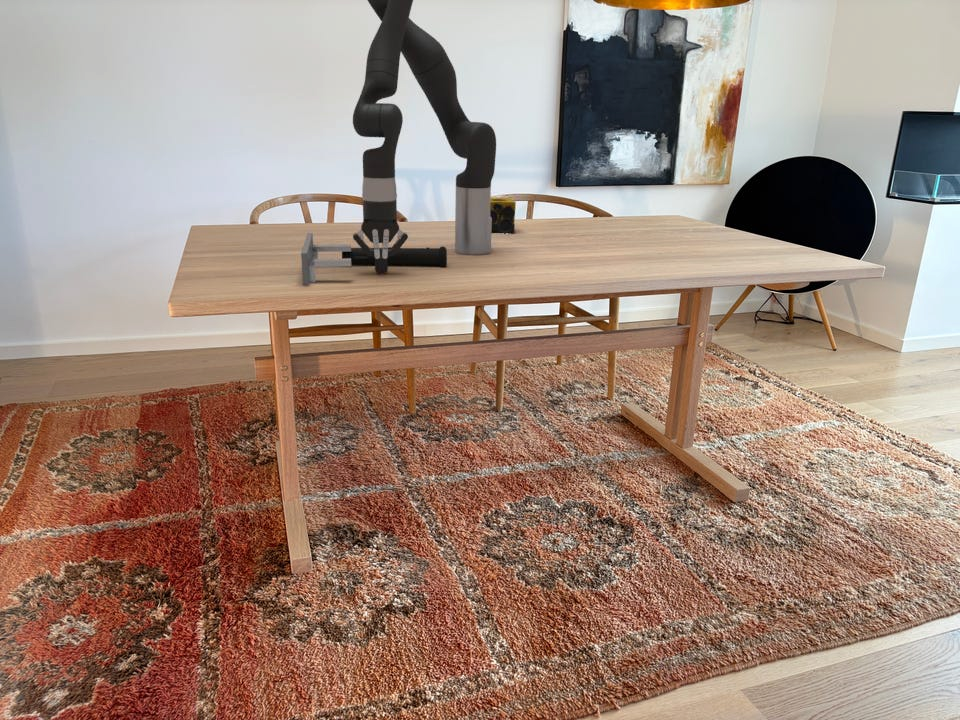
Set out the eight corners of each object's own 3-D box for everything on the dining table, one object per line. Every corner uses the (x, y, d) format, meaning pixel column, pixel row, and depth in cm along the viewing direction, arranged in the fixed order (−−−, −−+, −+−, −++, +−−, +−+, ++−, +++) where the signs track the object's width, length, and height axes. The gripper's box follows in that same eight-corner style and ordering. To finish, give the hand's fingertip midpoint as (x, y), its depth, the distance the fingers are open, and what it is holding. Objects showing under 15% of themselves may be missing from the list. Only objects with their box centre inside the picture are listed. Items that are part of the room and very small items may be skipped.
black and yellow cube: (478, 228, 233) (479, 197, 230) (510, 228, 234) (511, 197, 231) (482, 234, 224) (483, 201, 220) (514, 234, 225) (516, 201, 221)
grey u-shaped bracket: (351, 267, 176) (350, 244, 174) (352, 286, 159) (351, 260, 157) (313, 268, 175) (312, 244, 173) (309, 287, 158) (308, 261, 156)
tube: (446, 266, 181) (446, 244, 180) (446, 271, 176) (447, 248, 174) (344, 266, 179) (343, 243, 178) (342, 271, 174) (341, 248, 172)
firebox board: (315, 265, 178) (313, 233, 175) (310, 290, 155) (308, 253, 153) (309, 265, 177) (307, 233, 175) (303, 290, 155) (301, 253, 152)
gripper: (407, 195, 167) (408, 269, 173) (349, 195, 165) (352, 270, 171) (410, 200, 160) (411, 277, 166) (349, 200, 158) (352, 278, 164)
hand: (381, 273), depth 168 cm, fingers closed
